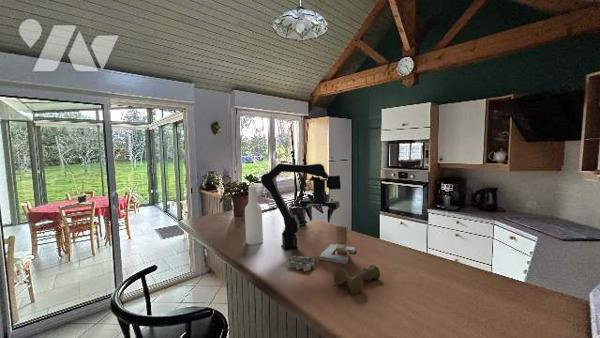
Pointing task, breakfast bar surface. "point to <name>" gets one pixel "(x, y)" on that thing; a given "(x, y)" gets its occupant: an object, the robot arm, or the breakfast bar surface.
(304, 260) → the egg carton
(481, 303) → the breakfast bar surface
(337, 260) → the notched board
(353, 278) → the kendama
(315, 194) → the robot arm
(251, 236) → the alcohol
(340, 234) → the bobbin
